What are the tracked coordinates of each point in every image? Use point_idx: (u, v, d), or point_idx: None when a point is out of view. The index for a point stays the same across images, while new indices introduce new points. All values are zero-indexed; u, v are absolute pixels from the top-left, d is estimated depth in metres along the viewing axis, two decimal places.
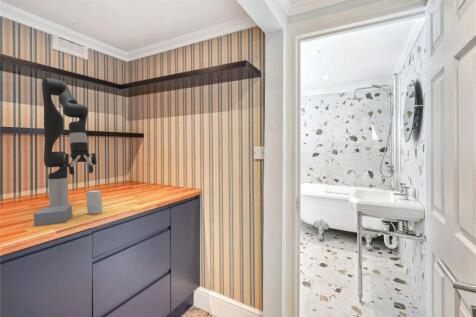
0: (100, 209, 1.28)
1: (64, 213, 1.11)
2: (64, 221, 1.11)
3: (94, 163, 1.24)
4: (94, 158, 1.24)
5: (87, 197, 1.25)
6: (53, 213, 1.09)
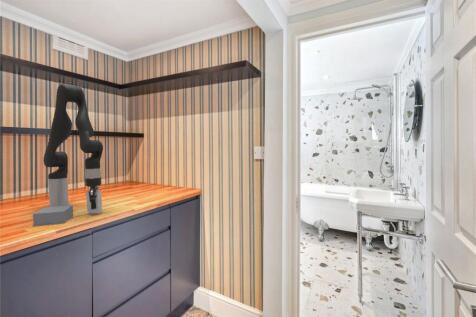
0: (100, 209, 1.28)
1: (62, 213, 1.10)
2: (63, 221, 1.11)
3: None
4: None
5: (87, 197, 1.25)
6: (52, 213, 1.09)
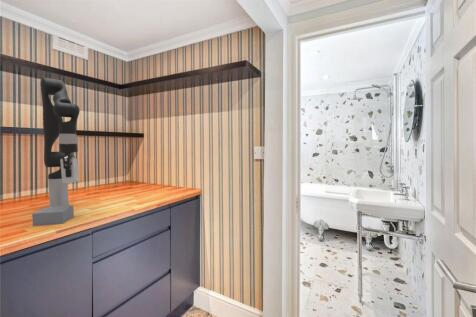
0: (76, 178, 1.19)
1: (61, 214, 1.10)
2: (61, 222, 1.10)
3: None
4: None
5: (62, 164, 1.16)
6: (51, 213, 1.09)
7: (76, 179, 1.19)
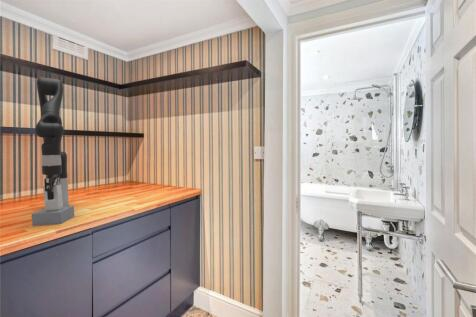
0: (60, 205, 1.15)
1: (59, 214, 1.09)
2: (59, 222, 1.10)
3: None
4: (59, 180, 1.20)
5: (44, 192, 1.11)
6: (49, 214, 1.09)
7: (60, 206, 1.15)
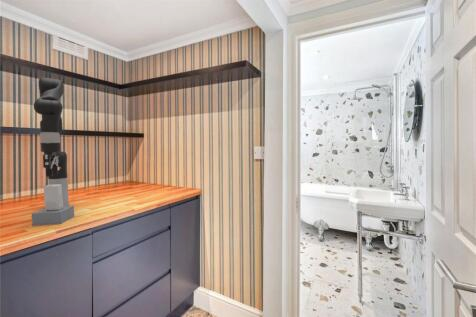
0: (61, 205, 1.15)
1: (59, 214, 1.09)
2: (59, 222, 1.10)
3: (58, 164, 1.19)
4: (58, 158, 1.19)
5: (45, 192, 1.11)
6: (49, 214, 1.09)
7: (61, 206, 1.14)
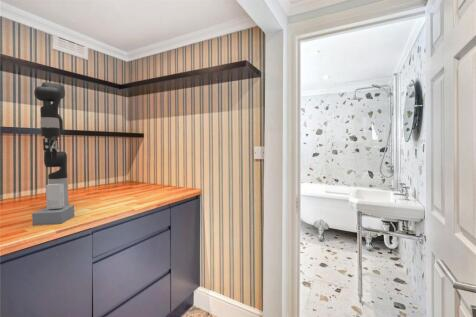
0: (62, 204, 1.16)
1: (60, 214, 1.10)
2: (60, 222, 1.10)
3: (57, 149, 1.25)
4: (57, 144, 1.25)
5: (47, 190, 1.13)
6: (50, 213, 1.09)
7: (62, 205, 1.15)
